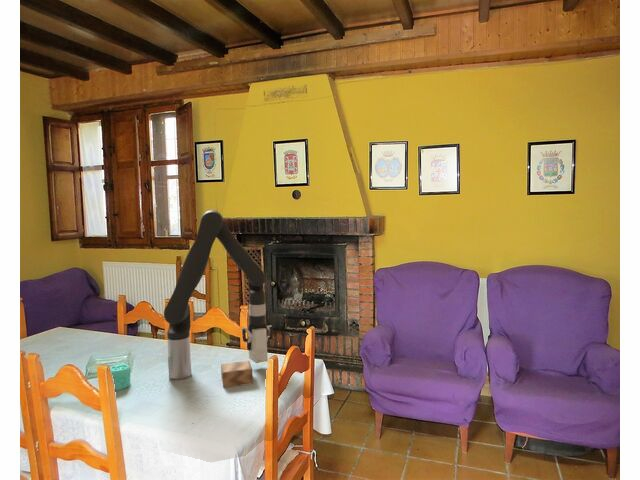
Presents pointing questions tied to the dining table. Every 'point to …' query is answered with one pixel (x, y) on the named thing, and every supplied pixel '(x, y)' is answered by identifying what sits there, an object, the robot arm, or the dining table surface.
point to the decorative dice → (121, 376)
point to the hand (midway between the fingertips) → (257, 349)
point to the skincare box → (258, 345)
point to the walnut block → (236, 373)
